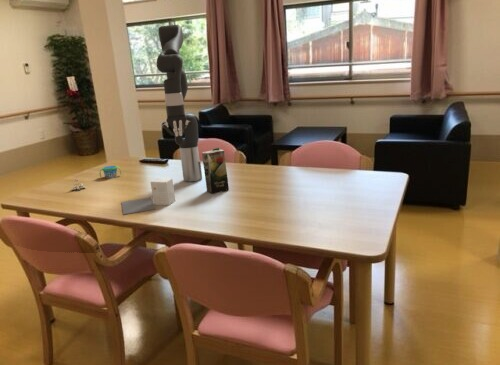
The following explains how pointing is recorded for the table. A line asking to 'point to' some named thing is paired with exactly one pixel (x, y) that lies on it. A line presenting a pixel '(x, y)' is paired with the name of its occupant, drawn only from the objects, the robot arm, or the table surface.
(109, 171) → the snack cup
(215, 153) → the juice carton
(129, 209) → the mat
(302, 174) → the table surface
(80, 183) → the house of cards
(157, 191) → the small box
